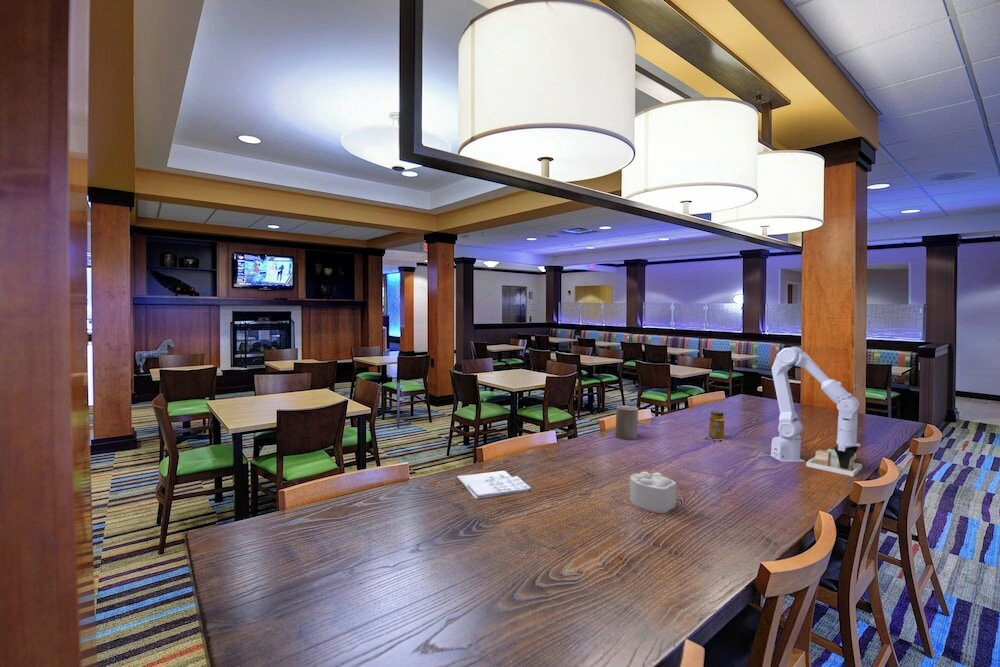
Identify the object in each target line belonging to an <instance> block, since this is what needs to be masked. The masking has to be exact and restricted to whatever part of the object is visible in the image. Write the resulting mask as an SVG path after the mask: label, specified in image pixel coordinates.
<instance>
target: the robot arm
mask: <svg viewBox="0 0 1000 667" xmlns="http://www.w3.org/2000/svg"><path fill="white" fill-rule="evenodd" d="M793 366H795V367H798V368H803V369H805V370H806V371H807V372H808V374H810V375H811V377H813V378H814V379H815V380H816V381H817V382H819V384H820V386H821V388H820V390H821V391H822V392H823V393H824V394H825V395H826V396H828V398H829V400H831V401H832V402H833V403H835V405H836V408H837V410H838V416H837V434H836V435H837V437H836V438H837V439H836V441H835V442H836V444H837V445H838V446H835V447H834V449H833V450H835V452H836V453H837V456H838V459H839V464H840V468H845V469H848V466H849V462H850V458H851V456H854V454H856V453H857V451H858V450H859V447H860V446H861V443H858V440H857V438H858V423H859V422H858V417H859V416H858V410H859V409H860V402H859V399H858V398H857V397H855V396H853V394H852V392H848V391H847V390H846V389H845V388H844V387H843V385H842V384H843V383H842V382H841V381H837V380H836V379H832V378H829V376H828V375H826V373H825V372H824V371H823V370H822V369H821V368H820V366H818V365H817V363H815V361H813V359H812V358H811V357H810V356H809V355H808V354H807V353H806V352H804V351H803V350H802V349H801V348H800V347H798V346H791V347H784V348H783V349H781V350H779V352H778V353H776V356H775V360H774V361H773V364H772V366H771V374H772V380H773V384H774V388H775V392H776V393H775V394H776V398H777V404H778V409H779V416H778V422H779V424H778V427H777V431H778V434H779V435H778V436H773V437H772V438H771V439H772V440H771V442H770V443H771V448H770V454H769V456H770V457H772V458H774V459H775V460H778V461H779V462H784V463H786V462H789V463H790V462H792V463H793V462H801V463H802V462H806V460H805V459H802V458H801V449H802V447H801V445H802V443H801V442H802V437H801V435H800V433H801V432H802V431H803V428H804V426H803V424H802V423H803V422H801V420H800V419H799V416H798V414H797V412H796V410H795V405H794V401H793V395H792V389H791V385H790V380H789V375H788V371H789V370H790V369H792V367H793Z"/></svg>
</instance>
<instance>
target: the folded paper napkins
mask: <svg viewBox="0 0 1000 667" xmlns="http://www.w3.org/2000/svg"><path fill="white" fill-rule="evenodd" d="M456 478H457V479H458V480H459V481H460V483H462V484H463V486H464V487H465V488H466V490H467V491H468V492H469V493H470V494H471V496H472V497H473V498H474V499H475V500H477V499H478V500H479V499H484V498H490V497H497V496H504V495H510V494H516V493H517V494H518V493H521V492H522V493H525V492H529V491H530V490H531V489H532V487H531V486H530V485H528V484H527V483H526V482H525V481H524V480H522V478H520V477H519V476H518V475H516V476H512V475H510V474H509V472H507V471H506V470H499V471H492V472H491V471H490V472H483V473H474V474H464V475H457V477H456Z"/></svg>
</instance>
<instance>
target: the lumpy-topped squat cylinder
mask: <svg viewBox="0 0 1000 667" xmlns="http://www.w3.org/2000/svg"><path fill="white" fill-rule="evenodd" d="M676 494H677V482H676V481H674V480H672V479H670V478H668V477H666V476H664V475H663V473H661V472H658V471H656V472H653V473H651V472H648V471H641V472H640V473H633V474H631V475H630V478H629V501H630V503H631V504H633V505H634V506H636V507H638V508H640V509H643V510H646V511H648V512H649V511H650V512H653V513H657V514H667V513H668V512H669V511H671V510H673V509H675V508H676V505H677V504H676V500H677V497H676V496H677V495H676Z"/></svg>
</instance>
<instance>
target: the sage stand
mask: <svg viewBox="0 0 1000 667" xmlns="http://www.w3.org/2000/svg"><path fill="white" fill-rule="evenodd" d="M825 451H829V452H831V458H833V459H838V456H837V453H836V452H835V449H832V448H828V449H827V450H825ZM856 459H857V453H855V454H854V461H855V460H856Z"/></svg>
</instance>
